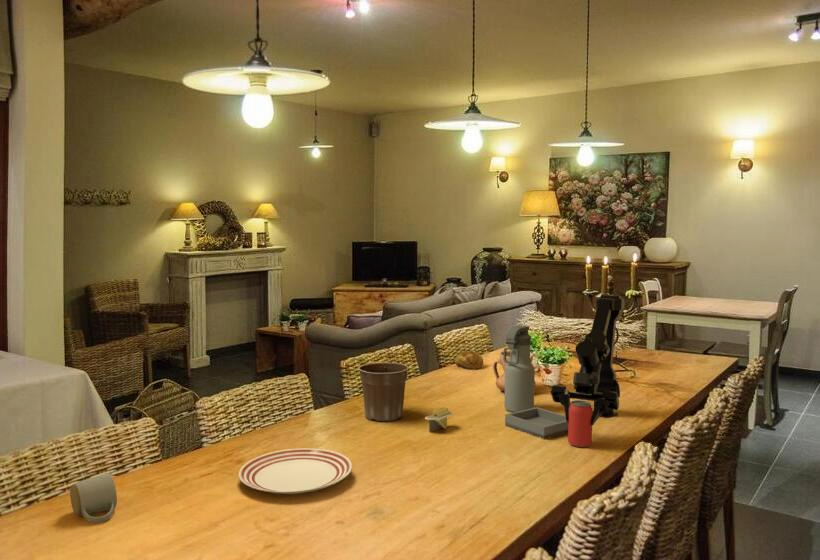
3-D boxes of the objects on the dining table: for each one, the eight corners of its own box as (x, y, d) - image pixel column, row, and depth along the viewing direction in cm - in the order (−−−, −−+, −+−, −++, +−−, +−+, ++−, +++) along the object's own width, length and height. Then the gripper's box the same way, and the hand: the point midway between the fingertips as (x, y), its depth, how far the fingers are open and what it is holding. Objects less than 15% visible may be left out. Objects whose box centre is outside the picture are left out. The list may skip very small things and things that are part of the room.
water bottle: (520, 415, 223) (521, 330, 220) (497, 409, 230) (498, 326, 227) (539, 410, 229) (541, 327, 227) (517, 403, 237) (518, 323, 234)
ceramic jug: (545, 391, 254) (546, 353, 252) (526, 399, 242) (526, 360, 241) (503, 383, 265) (504, 347, 264) (483, 391, 254) (483, 353, 252)
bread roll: (450, 366, 295) (450, 348, 294) (465, 363, 302) (465, 345, 301) (472, 371, 286) (472, 352, 285) (487, 368, 292) (488, 349, 291)
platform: (472, 427, 211) (473, 406, 211) (437, 442, 197) (437, 420, 197) (441, 420, 219) (442, 400, 218) (405, 434, 205) (405, 412, 204)
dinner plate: (301, 513, 150) (301, 498, 150) (214, 486, 165) (214, 473, 164) (374, 473, 173) (374, 460, 173) (291, 453, 188) (291, 441, 187)
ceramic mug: (69, 510, 150) (67, 477, 149) (108, 501, 155) (107, 468, 155) (82, 529, 142) (80, 493, 141) (123, 518, 147) (122, 483, 146)
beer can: (592, 448, 191) (593, 406, 190) (568, 447, 193) (569, 405, 191) (591, 441, 198) (592, 400, 197) (567, 439, 199) (568, 399, 198)
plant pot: (351, 412, 226) (351, 364, 224) (397, 407, 232) (397, 360, 231) (368, 426, 211) (368, 374, 209) (416, 420, 217) (416, 370, 216)
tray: (536, 417, 221) (536, 407, 220) (575, 430, 208) (576, 419, 207) (505, 425, 212) (505, 414, 212) (543, 439, 199) (544, 427, 199)
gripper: (552, 357, 201) (541, 403, 192) (618, 364, 192) (610, 412, 184) (559, 378, 208) (548, 423, 200) (622, 385, 200) (614, 433, 191)
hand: (579, 422), depth 193 cm, fingers closed on beer can, 7 cm apart
